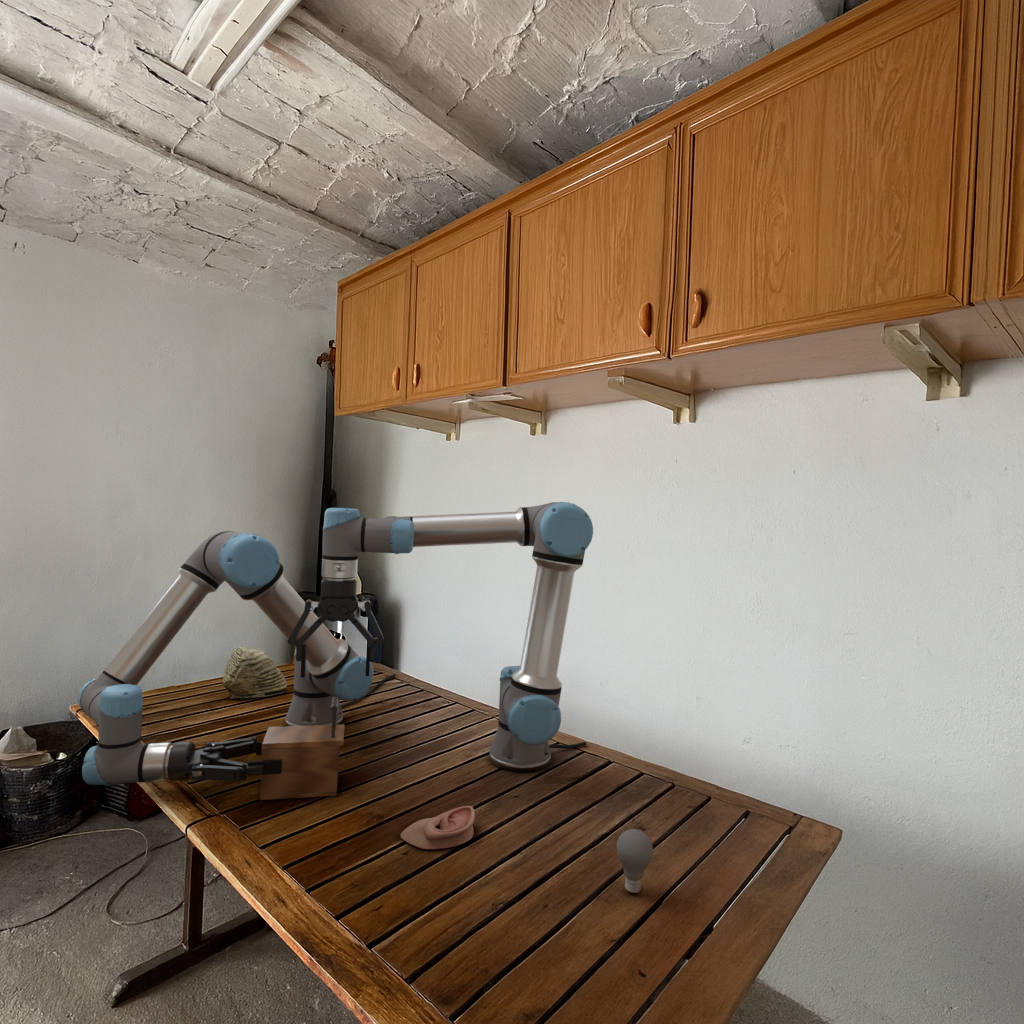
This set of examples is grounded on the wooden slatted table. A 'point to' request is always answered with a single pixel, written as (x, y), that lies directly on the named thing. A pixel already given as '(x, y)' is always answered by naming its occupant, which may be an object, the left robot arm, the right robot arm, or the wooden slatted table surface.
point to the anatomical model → (442, 829)
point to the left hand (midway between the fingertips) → (284, 756)
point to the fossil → (252, 674)
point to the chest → (301, 773)
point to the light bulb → (634, 857)
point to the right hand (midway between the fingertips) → (335, 675)
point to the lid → (306, 734)
